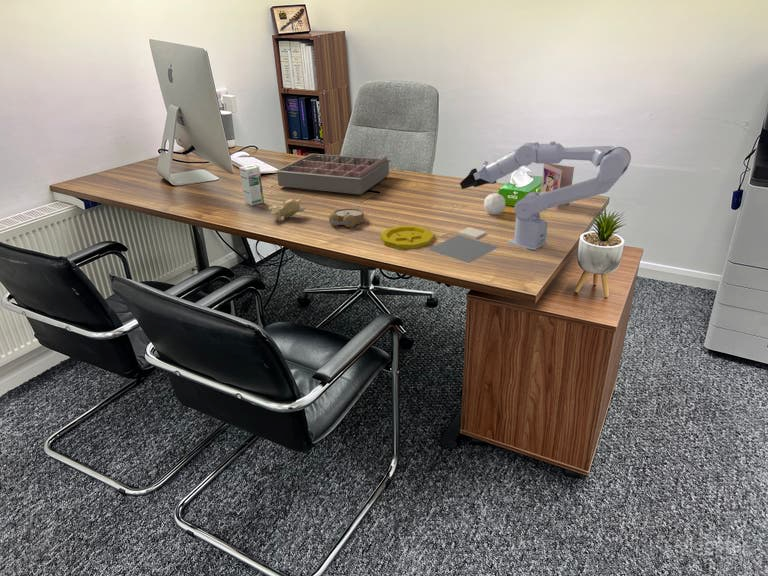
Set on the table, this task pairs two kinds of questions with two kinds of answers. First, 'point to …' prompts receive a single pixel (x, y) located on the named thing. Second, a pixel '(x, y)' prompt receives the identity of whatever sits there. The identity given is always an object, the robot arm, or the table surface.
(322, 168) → the organizer tray
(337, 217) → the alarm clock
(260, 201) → the syrup box
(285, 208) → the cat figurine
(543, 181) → the greeting card
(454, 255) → the mat
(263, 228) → the table surface
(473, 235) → the tile
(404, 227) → the decorative disc
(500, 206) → the geometric ball
